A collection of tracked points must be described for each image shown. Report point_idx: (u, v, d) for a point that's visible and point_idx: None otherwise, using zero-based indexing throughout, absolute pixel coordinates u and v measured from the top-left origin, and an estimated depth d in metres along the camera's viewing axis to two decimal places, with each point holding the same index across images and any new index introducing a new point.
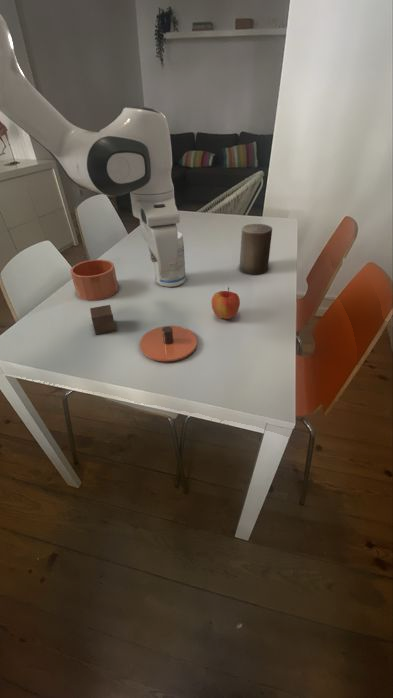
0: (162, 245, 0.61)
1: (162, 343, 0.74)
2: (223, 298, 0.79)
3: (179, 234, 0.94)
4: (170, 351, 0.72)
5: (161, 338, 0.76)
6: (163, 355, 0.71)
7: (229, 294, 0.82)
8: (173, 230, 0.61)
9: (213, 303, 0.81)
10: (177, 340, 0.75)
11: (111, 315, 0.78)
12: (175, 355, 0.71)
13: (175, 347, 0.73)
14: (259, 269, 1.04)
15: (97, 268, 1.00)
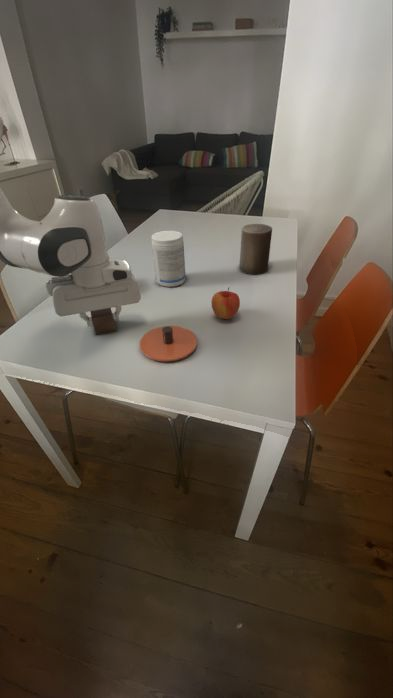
0: None
1: (162, 343, 0.74)
2: (223, 298, 0.79)
3: (179, 234, 0.94)
4: (170, 351, 0.72)
5: (161, 338, 0.76)
6: (163, 355, 0.71)
7: (229, 294, 0.82)
8: (131, 273, 0.77)
9: (213, 303, 0.81)
10: (177, 340, 0.75)
11: (111, 315, 0.78)
12: (175, 355, 0.71)
13: (175, 347, 0.73)
14: (259, 269, 1.04)
15: None
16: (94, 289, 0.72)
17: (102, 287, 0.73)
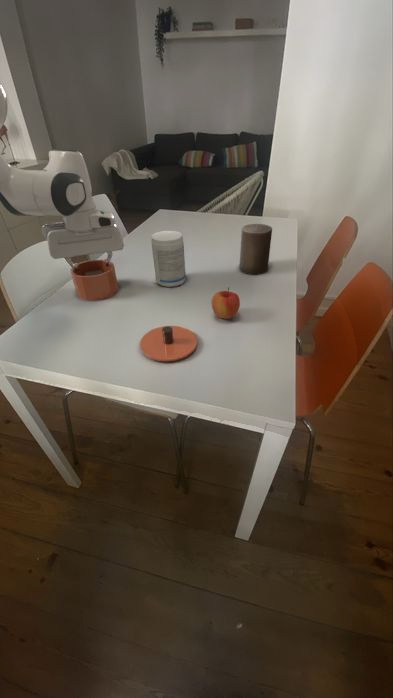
0: None
1: (162, 343, 0.74)
2: (223, 298, 0.79)
3: (179, 234, 0.94)
4: (170, 351, 0.72)
5: (161, 338, 0.76)
6: (163, 355, 0.71)
7: (229, 294, 0.82)
8: (115, 223, 0.90)
9: (213, 303, 0.81)
10: (177, 340, 0.75)
11: None
12: (175, 355, 0.71)
13: (175, 347, 0.73)
14: (259, 269, 1.04)
15: (97, 268, 1.00)
16: (83, 234, 0.85)
17: (90, 232, 0.85)
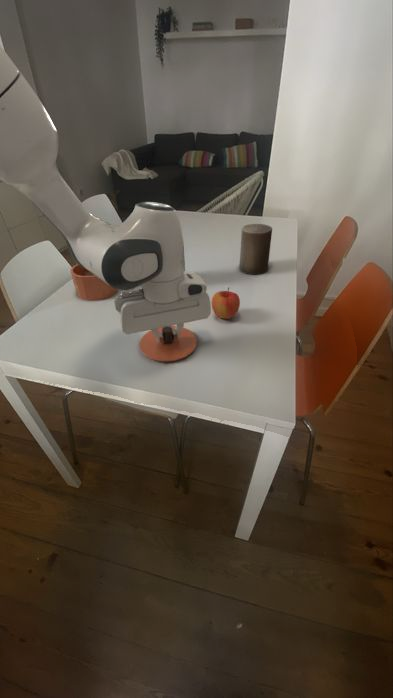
0: None
1: (162, 343, 0.74)
2: (223, 298, 0.79)
3: None
4: (170, 351, 0.72)
5: None
6: (163, 355, 0.71)
7: (229, 294, 0.82)
8: None
9: (213, 303, 0.81)
10: (177, 340, 0.75)
11: None
12: (175, 355, 0.71)
13: (175, 347, 0.73)
14: (259, 269, 1.04)
15: None
16: (166, 305, 0.65)
17: (174, 303, 0.66)
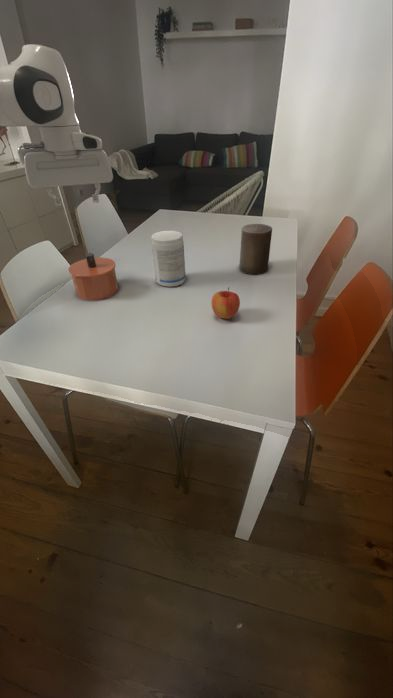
0: (109, 162, 0.79)
1: (86, 267, 0.93)
2: (223, 298, 0.79)
3: (179, 234, 0.94)
4: (91, 271, 0.90)
5: (87, 264, 0.94)
6: (84, 273, 0.89)
7: (229, 294, 0.82)
8: None
9: (213, 303, 0.81)
10: (99, 265, 0.94)
11: None
12: (94, 273, 0.89)
13: (96, 269, 0.91)
14: (259, 269, 1.04)
15: None
16: (65, 157, 0.74)
17: (73, 156, 0.74)
